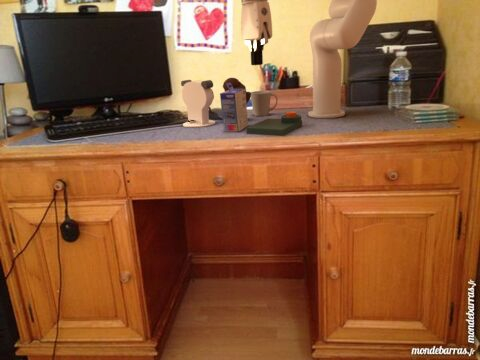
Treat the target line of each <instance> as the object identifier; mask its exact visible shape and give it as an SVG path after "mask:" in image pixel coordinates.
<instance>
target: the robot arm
mask: <svg viewBox="0 0 480 360" xmlns="http://www.w3.org/2000/svg"><path fill="white" fill-rule="evenodd" d="M377 4H378V1H377V0H331V2H330V3H329V6H328V15H329V18H325V19H321V20H320V21H317V22H316V23H314V25H313V26H312V28H311V29H310V32H309V41H310V46H311V52H312V110H311V111H308V113H307V114H308V116H309V117H310V118H316V119H335V118H342V117H344V116H345V115H346V111H345V110H344V109H343V110H342V109H341V106H342V105H341V101H342V68H343V67H342V66H343V64H342V63H343V62H342V58H341V55H340V52H339V50H349V49H352V48H354V47H356V46H357V44H358V43H359V42H360V41H361V38H362V37H363V35H364V34H365V32H366V29H367V28H368V26H369V25H370V23H371V20H372V19H373V17H374V15H375V13H376V10H377ZM240 14H241V15H240V16H241V17H240V24H241V25H240V27H241V29H240V31H241V38H242V39H243V41H244V45H246V46H248V50H249V52H250V65H251V66H261V65H263V64H264V61H263V60H264V58H263V57H264V56H263V51H264V47H265V45H267V44H268V43H269V40H271V39H272V37H273V21H272V13H271V8H270V2H269V1H268V0H241V13H240Z"/></svg>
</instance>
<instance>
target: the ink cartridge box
mask: <svg viewBox="0 0 480 360" xmlns="http://www.w3.org/2000/svg"><path fill="white" fill-rule="evenodd" d="M226 85H227V87H228V89H229V90H227V91H225V90H224V91H223V92H221V93H219V99H220V107H221V108H220V109H221V116H222V125H223V132H224V133H238V132H239V133H240V132H241V131H242V130H243V129H246V128H247V127H249V118H248V109H247V108H248V106H247V105H248V103H247V104H246V92H247V91H246V92H245V89H234V88H233V86H232V84H231V83H226ZM229 85H231V87H230V88H229Z"/></svg>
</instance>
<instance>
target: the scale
mask: <svg viewBox="0 0 480 360" xmlns="http://www.w3.org/2000/svg"><path fill="white" fill-rule="evenodd" d="M302 126H303V119H302V115H300V114H296V117H286V114H284V115H281V116H280V118H270V117H269V118H265V119H264V120H261V121H259V122H257V123H255V124H252V125H250V126H249V125H248V126H246V134H247V135H248V134H249V135H261V136H279V137H284V136H286V135H287V134H289V133H291V132H293V131H295V130H296V129H299V128H300V127H302Z"/></svg>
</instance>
